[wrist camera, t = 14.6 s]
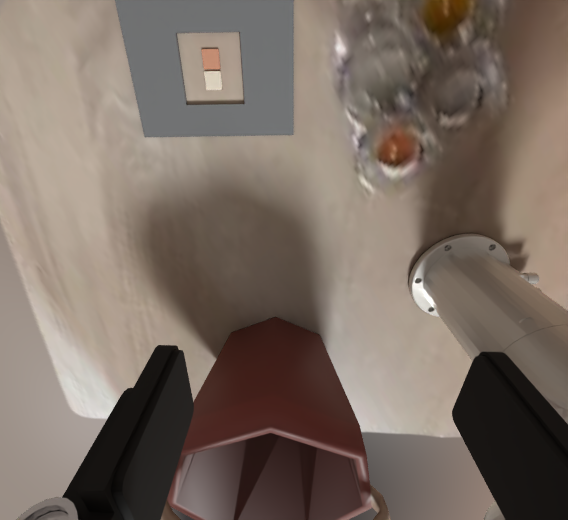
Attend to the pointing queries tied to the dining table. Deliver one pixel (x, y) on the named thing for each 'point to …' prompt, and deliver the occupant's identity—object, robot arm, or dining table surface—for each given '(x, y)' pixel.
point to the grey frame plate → (210, 65)
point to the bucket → (273, 436)
